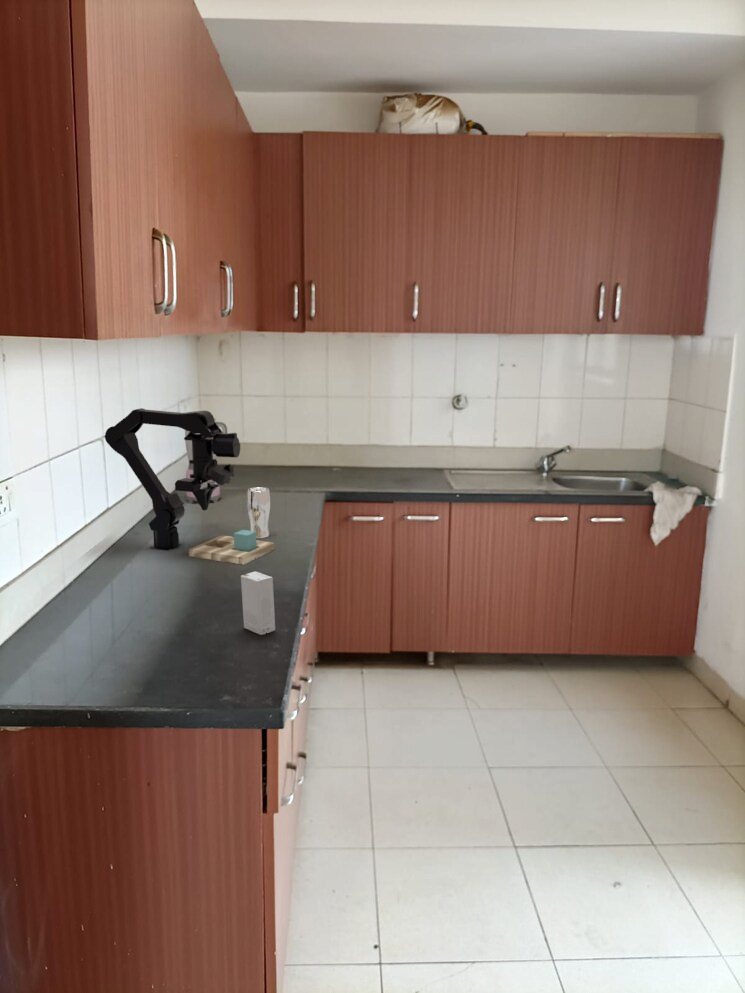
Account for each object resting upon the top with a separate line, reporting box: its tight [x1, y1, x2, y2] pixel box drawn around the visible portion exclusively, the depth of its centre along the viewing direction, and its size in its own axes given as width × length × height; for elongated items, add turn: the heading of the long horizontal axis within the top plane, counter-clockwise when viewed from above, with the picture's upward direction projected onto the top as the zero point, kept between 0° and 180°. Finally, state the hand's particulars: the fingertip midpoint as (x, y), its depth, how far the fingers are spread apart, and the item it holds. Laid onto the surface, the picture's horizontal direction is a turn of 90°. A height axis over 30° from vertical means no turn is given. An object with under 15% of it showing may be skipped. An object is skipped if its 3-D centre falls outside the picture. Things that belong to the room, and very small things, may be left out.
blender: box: [184, 417, 228, 504], centre depth 276 cm, size 16×12×32 cm
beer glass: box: [246, 486, 271, 539], centre depth 230 cm, size 7×7×15 cm
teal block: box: [233, 529, 258, 552], centre depth 211 cm, size 4×4×6 cm
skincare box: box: [240, 570, 276, 636], centre depth 160 cm, size 6×4×12 cm
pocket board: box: [188, 534, 275, 566], centre depth 213 cm, size 18×16×2 cm
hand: (204, 510), depth 214 cm, fingers closed
